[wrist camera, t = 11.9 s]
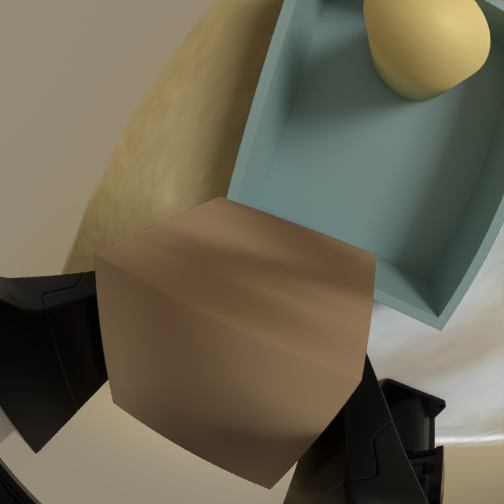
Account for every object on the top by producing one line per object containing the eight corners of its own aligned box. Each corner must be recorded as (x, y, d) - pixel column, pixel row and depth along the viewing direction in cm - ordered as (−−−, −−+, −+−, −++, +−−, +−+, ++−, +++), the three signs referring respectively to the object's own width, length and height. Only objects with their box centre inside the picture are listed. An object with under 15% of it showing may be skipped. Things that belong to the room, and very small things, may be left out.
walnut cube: (376, 254, 8) (361, 380, 4) (318, 373, 10) (270, 489, 6) (220, 195, 9) (94, 253, 5) (198, 318, 12) (113, 402, 8)
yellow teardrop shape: (444, 114, 13) (480, 103, 8) (363, 83, 15) (352, 54, 9) (459, 40, 11) (493, -3, 5) (379, 12, 12) (372, -46, 7)
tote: (517, 53, 10) (550, 34, 6) (431, 288, 18) (441, 330, 13) (325, -24, 13) (306, -62, 9) (254, 208, 21) (218, 228, 17)
